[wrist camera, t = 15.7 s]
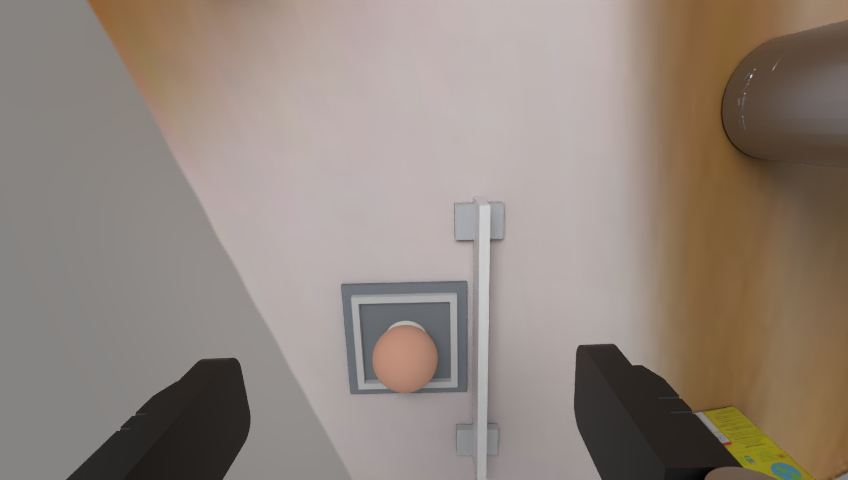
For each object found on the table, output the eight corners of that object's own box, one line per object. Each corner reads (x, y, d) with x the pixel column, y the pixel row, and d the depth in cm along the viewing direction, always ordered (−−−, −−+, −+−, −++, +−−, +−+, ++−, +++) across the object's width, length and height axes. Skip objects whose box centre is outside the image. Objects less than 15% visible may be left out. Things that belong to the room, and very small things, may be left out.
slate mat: (466, 281, 36) (467, 285, 35) (466, 389, 39) (467, 395, 38) (342, 284, 36) (339, 288, 35) (351, 391, 39) (349, 398, 38)
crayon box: (659, 442, 41) (747, 562, 30) (657, 417, 40) (747, 531, 29) (735, 429, 40) (854, 547, 29) (735, 404, 40) (857, 515, 28)
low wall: (502, 195, 34) (512, 204, 30) (496, 453, 41) (503, 487, 37) (454, 197, 34) (457, 206, 30) (456, 453, 41) (459, 487, 37)
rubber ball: (436, 313, 37) (437, 345, 31) (437, 367, 38) (439, 407, 33) (374, 314, 37) (365, 347, 31) (378, 368, 38) (370, 408, 33)
